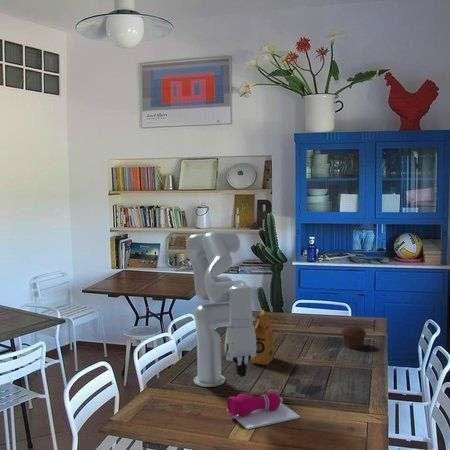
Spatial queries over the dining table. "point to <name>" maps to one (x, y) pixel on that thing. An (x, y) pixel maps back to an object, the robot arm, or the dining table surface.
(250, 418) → the mat
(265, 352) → the coffee package
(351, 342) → the muffin
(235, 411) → the pepper mill
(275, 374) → the dining table surface
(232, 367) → the dining table surface
